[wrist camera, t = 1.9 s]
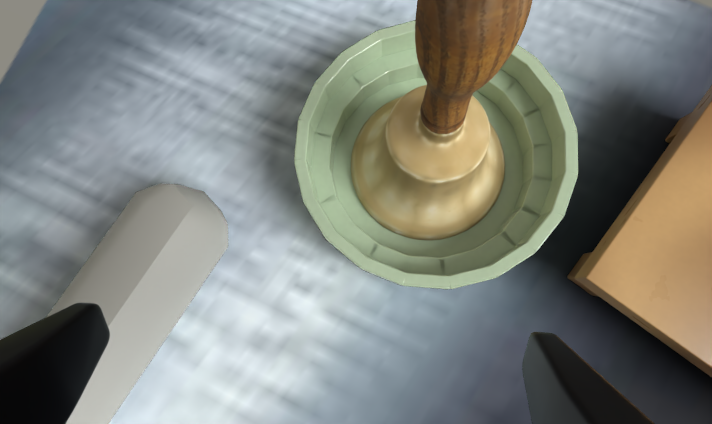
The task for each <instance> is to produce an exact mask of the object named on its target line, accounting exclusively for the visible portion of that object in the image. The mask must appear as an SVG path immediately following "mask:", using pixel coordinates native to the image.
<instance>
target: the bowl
mask: <svg viewBox="0 0 712 424" xmlns="http://www.w3.org/2000/svg"><path fill="white" fill-rule="evenodd" d="M415 21H416V20H414V21H410V22H407V23H403V24H399V25H395V26H392V27H388V28H384V29H381V30H378V31H375V32H374V33H372V34H370V35H369V36H367V37H365V38H364V39H362V40H361V41H359V42H357V43H356V44H354V45H352V46H351V47H349V48H347V49H346V50H344V51H343V52H342V53H340V54H339V56H338V57H337V58H336V59H335V60H334V61H333V62H332V63H331V65H330V66H329V67H328V68H327V69H326V70H325V71H324V72H323V74H322V75H321V76H320V77H319V78H318V79H317V80H316V82H315V83H314V85H313V87H312V89H311V92H310V94H309V96H308V98H307V101H306V103H305V105H304V107H303V110H302V112H301V114H300V116H299V118H298V123H297V133H296V143H295V153H294V165H295V169H296V173H297V178H298V182H299V187H300V191H301V196H302V200H303V202H304V204H305V206H306V208H307V209H308V211H309V213H310V214H311V216H312V218H313V219H314V221H315V223H316V224H317V226H318V228H319V229H320V231H321V232H322V234H323V236H324V237H325V238H326V240H327V241H328V242H330V243H331V244H332V245H333V246H334V247H335V248H337V249H338V250H339V251H340V252H341V253H342V254H344V255H345V256H346V257H347V258H348V259H350V260H351V261H352V262H353V263H354V264H355V265H357V266H358V267H359V268H361V269H362V270H364V271H366V272H368V273H371V274H373V275H375V276H378V277H380V278H383V279H385V280H388V281H390V282H393V283H395V284H397V285H401V286H409V287H422V288H436V289H454V288H458V287H462V286H466V285H470V284H474V283H478V282H482V281H486V280H490V279H494V278H497V277H499V276H500V275H502V274H503V273H505V272H507V271H508V270H510V269H511V268H513V267H514V266H516V265H518V264H519V263H521V262H522V261H524V260H525V259H527V258H529V257H530V256H532V255H533V254H535V252H537V251H538V249H539V248H540V247H541V246H542V244H543V243H544V242H545V240H546V239H547V238H548V237H549V235H550V234H551V233H552V232H553V230H554V229H555V228H556V227H557V225H558V224H559V223H560V221H561V220H562V219H563V217H564V216H565V213H566V210H567V207H568V204H569V201H570V198H571V195H572V192H573V189H574V186H575V183H576V180H577V177H578V137H577V128H576V126H575V123H574V120H573V118H572V115H571V112H570V109H569V107H568V104H567V101H566V99H565V96H564V93H563V91H562V89H561V88H560V86H559V85H558V84H557V83H556V81H555V80H554V79H553V78H552V76H551V75H550V74H549V73H548V71H547V70H546V69H545V68H544V66H543V65H542V64H541V63H540V61H539V60H538V59H537V58H536V57H535V56H533V55H532V54H530V53H529V52H527V51H526V50H525V49H523V48H522V47H520V46H519V45H516V46H515V48H514V50H513V52H512V54H511V55H510V57H509V58H508V60H507V61H506V62H505V64H504V65H503V66H502V68H501V69H500V70H499V71H498V73H497V74H496V75H495V76H494V77H493V78H492V79H491V80H490V81H489V82H488V83H486V84H485V85H484V86H483V87H481V88H480V89H478V90H477V91H475V92H474V93H473V95H472V96H473V97H475V98H476V99H477V100H478V101H479V103H480V104H481V105H482V107H483V109H484V110H485V112H486V115H487V117H488V120H489V122H490V123H491V125H492V126H493V128H494V129H495V131H496V133H497V135H498V137H499V139H500V141H501V144H502V148H503V152H504V158H505V175H504V182H503V185H502V189H501V192H500V194H499V197H498V199H497V201H496V203H495V204H494V206H493V207H492V208H491V210H490V211H489V212H488V214H487V215H486V216H485V217H484V218H483V219H482V220H481V221H480V222H479V223H477V224H476V225H475V226H473V227H472V228H470V229H468V230H467V231H465V232H463V233H461V234H458V235H456V236H452V237H449V238H445V239H440V240H418V239H412V238H408V237H404V236H402V235H399V234H396V233H394V232H392V231H390V230H388V229H386V228H385V227H383V226H382V225H380V224H379V223H378V222H377V221H376V220H375V219H374V218H373V217H372V216H371V215H370V214H369V213H368V212H367V211H366V209H365V208H364V206H363V205H362V203H361V202H360V200H359V198H358V196H357V194H356V191H355V189H354V186H353V182H352V176H351V155H352V150H353V146H354V143H355V140H356V138H357V136H358V134H359V132H360V130H361V128H362V127H363V125H364V124H365V123H366V121H367V120H368V119H369V117H370V116H371V115H372V114H373V113H375V112H376V111H377V110H378V109H379V108H380V107H382V106H383V105H385V104H386V103H388V102H390V101H392V100H394V99H396V98H399V97H402V96H404V95H405V94H406V93H408V92H410V91H411V90H413V89H415V88H418V87H420V86H423V85H427V82H426V80H425V78H424V76H423V74H422V71H421V69H420V66H419V63H418V59H417V54H416V45H415Z"/></svg>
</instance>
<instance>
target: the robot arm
mask: <svg viewBox="0 0 712 424" xmlns="http://www.w3.org/2000/svg"><path fill="white" fill-rule="evenodd" d="M109 339H110V331H109V328H108V325H107V323H106V320H105V317H104V315H103V312H102V309H101V307H100V306H99V305H98V304H95V303H82V302H81V303H75V304H73V305H71V306H69V307H67V308H65V309H63V310H61V311H59V312H56V313H54V314H52V315H50V316H48V317H46V318H44V319H42V320H40V321H38V322H36V323H34V324H32V325H30V326H28V327H26V328H24V329H22V330H20V331H17V332H15V333H13V334H11V335H9V336H7V337H5V338H3V339H1V340H0V424H66V422H67V421H68V419H69V417H70V416H71V414H72V412H73V411H74V409H75V407H76V405H77V403H78V401H79V400H80V398H81V396H82V394H83V392H84V390H85V388H86V386H87V384H88V382H89V380H90V378H91V376H92V374H93V372H94V370H95V368H96V366H97V364H98V362H99V360H100V358H101V356H102V354H103V353H104V351H105V349H106V347H107V345H108V342H109ZM522 370H523V377H524V383H525V388H526V393H527V399H528V404H529V410H530V415H531V421H532V424H654V423H653V422H652V421H651V420H650V419H649V418H648V417H647V416H646V415H644V414H643V413H642V412H641V411H640V410H639V409H638V408H637V407H635V406H634V405H633V404H632V403H631V402H630V401H629V400H628V399H627V398H625V397H624V396H623V395H622V394H621V393H620V392H619V391H618V390H617V389H615V388H614V387H613V386H612V385H611V384H610V383H609V382H608V381H607V380H605V379H604V378H603V377H602V376H601V375H600V374H599V373H598V372H597V371H595V370H594V369H593V368H592V367H591V366H590V365H589V364H588V363H587V362H585V361H584V360H583V359H582V358H581V357H580V356H579V355H578V354H577V353H575V352H574V351H573V350H572V349H571V348H570V347H569V346H568V345H566V344H565V343H564V342H563V341H562V340H561V339H560V338H559V337H558V336H556V335H555V334H553V333H544V332H533V333H531V335H530V337H529V340H528V344H527V347H526V351H525V355H524V359H523V364H522Z"/></svg>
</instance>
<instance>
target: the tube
mask: <svg viewBox="0 0 712 424" xmlns="http://www.w3.org/2000/svg"><path fill="white" fill-rule="evenodd" d="M227 248H228V224H227V222H226V220H225V218H224V216H223V214H222V212H221V210H220V209H219V208H218V207H217V206H216V205H215V203H214V202H213V201H212V200H211V199H210V198H209V197H208V196H207V195H206V193H205V192H203V191H200V190H196V189H193V188H189V187H186V186H182V185H178V184H165V183H160V184H157V185H154V186H151V187H149V188H146V189H143V190H140V191H138V192H136V193H135V195H134V196H133V197H132V199H131V200H130V201H129V203H128V204H127V206H126V207H125V208H124V210H123V211H122V213H121V214H120V215H119V217H118V218H117V219H116V221H115V222H114V224H113V225H112V226H111V228H110V229H109V231H108V232H107V233H106V235H105V236H104V238H103V239H102V240H101V242H100V243H99V244H98V246H97V247H96V249H95V250H94V251H93V253H92V254H91V256H90V257H89V258H88V260H87V261H86V263H85V264H84V265H83V267H82V268H81V269H80V271H79V272H78V274H77V275H76V276H75V278H74V279H73V281H72V282H71V283H70V285H69V286H68V287H67V289H66V290H65V292H64V293H63V294H62V296H61V297H60V299H59V300H58V301H57V303H56V304H55V306H54V307H53V308H52V310H51V311H50V312H49V314H48V315H47V317H48V316H50V315H52V314H54V313H56V312H59V311H61V310H63V309H65V308H67V307H69V306H71V305H73V304H75V303H81V302H82V303H95V304H98V305H99V306H100V307H101V309H102V312H103V315H104V317H105V320H106V323H107V325H108V328H109V331H110V339H109V342H108V345H107V347H106V349H105V351H104V353H103V354H102V356H101V358H100V360H99V362H98V364H97V366H96V368H95V370H94V372H93V374H92V376H91V378H90V380H89V382H88V384H87V386H86V388H85V390H84V392H83V394H82V396H81V398H80V400H79V401H78V403H77V405H76V407H75V409H74V411H73V412H72V414H71V416H70V417H69V419H68V421H67V422H66V424H109V422H110V421H111V419H112V418H113V416H114V415H115V413H116V412H117V411H118V409H119V408H120V406H121V405H122V403H123V402H124V400H125V399H126V397H127V396H128V394H129V393H130V391H131V390H132V388H133V387H134V385H135V384H136V382H137V381H138V379H139V378H140V376H141V375H142V374H143V372H144V371H145V369H146V368H147V366H148V365H149V363H150V362H151V360H152V359H153V357H154V356H155V354H156V353H157V351H158V350H159V348H160V347H161V345H162V344H163V342H164V341H165V339H166V338H167V337H168V335H169V334H170V332H171V331H172V329H173V328H174V326H175V325H176V323H177V322H178V320H179V319H180V317H181V316H182V314H183V313H184V311H185V310H186V308H187V307H188V305H189V304H190V302H191V301H192V300H193V298H194V297H195V295H196V294H197V292H198V291H199V289H200V288H201V286H202V285H203V283H204V282H205V280H206V279H207V277H208V276H209V274H210V273H211V271H212V270H213V268H214V267H215V265H216V264H217V263H218V261H219V260H220V258H221V257H222V255H223V254H224V252H225V251H226V249H227Z"/></svg>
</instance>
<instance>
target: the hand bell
mask: <svg viewBox="0 0 712 424" xmlns="http://www.w3.org/2000/svg"><path fill="white" fill-rule="evenodd" d="M531 4H532V0H418V2H417V11H416V21H415V45H416V54H417V59H418V63H419V66H420V69H421V71H422V74H423V76H424V78H425V80H426V82H427V85H423V86H420V87H418V88H415V89H413V90H411V91H410V92H408V93H406V94H405V95H404V96H402V97H399V98H396V99H394V100H392V101H390V102H388V103H386V104H385V105H383V106H382V107H380V108H379V109H378V110H377V111H376V112H375V113H373V114H372V115H371V116H370V117H369V119H368V120H367V121H366V123H365V124H364V125H363V127H362V128H361V130H360V132H359V134H358V136H357V138H356V140H355V143H354V146H353V150H352V155H351V176H352V182H353V186H354V189H355V191H356V194H357V196H358V198H359V200H360V202H361V203H362V205H363V206H364V208H365V209H366V211H367V212H368V213H369V214H370V215H371V216H372V217H373V218H374V219H375V220H376V221H377V222H378V223H379V224H380V225H382V226H383V227H385V228H386V229H388V230H390V231H392V232H394V233H396V234H399V235H402V236H404V237H408V238H412V239H418V240H440V239H445V238H449V237H452V236H456V235H458V234H461V233H463V232H465V231H467V230H468V229H470V228H472V227H473V226H475V225H476V224H477V223H479V222H480V221H481V220H482V219H483V218H484V217H485V216H486V215H487V214H488V212H489V211H490V210H491V208H492V207H493V206H494V204H495V203H496V201H497V199H498V197H499V194H500V192H501V189H502V185H503V182H504V175H505V158H504V152H503V148H502V144H501V141H500V139H499V137H498V135H497V133H496V131H495V129H494V128H493V126H492V125H491V123H490V122H489V120H488V117H487V115H486V112H485V110H484V109H483V107H482V105H481V104H480V103H479V101H478V100H477V99H476V98H475V97H473V96H472V95H473V93H474V92H475V91H477V90H478V89H480V88H481V87H483V86H484V85H485V84H486V83H488V82H489V81H490V80H491V79H492V78H493V77H494V76H495V75H496V74H497V73H498V71H499V70H500V69H501V68H502V66H503V65H504V64H505V62H506V61H507V60H508V58H509V57H510V55H511V54H512V52H513V50H514V48H515V46H516V45H517V42H518V40H519V38H520V36H521V34H522V32H523V29H524V27H525V24H526V21H527V18H528V15H529V12H530V8H531Z"/></svg>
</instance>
